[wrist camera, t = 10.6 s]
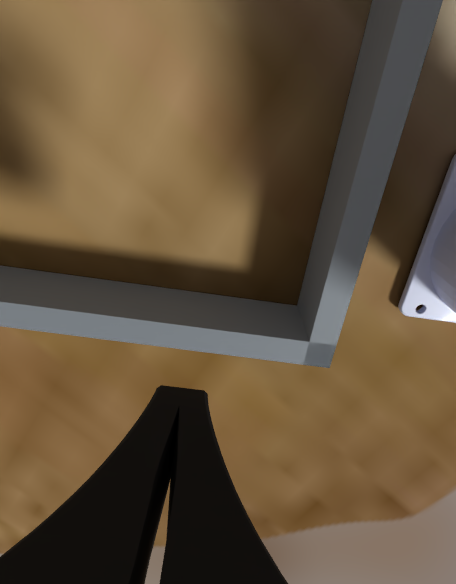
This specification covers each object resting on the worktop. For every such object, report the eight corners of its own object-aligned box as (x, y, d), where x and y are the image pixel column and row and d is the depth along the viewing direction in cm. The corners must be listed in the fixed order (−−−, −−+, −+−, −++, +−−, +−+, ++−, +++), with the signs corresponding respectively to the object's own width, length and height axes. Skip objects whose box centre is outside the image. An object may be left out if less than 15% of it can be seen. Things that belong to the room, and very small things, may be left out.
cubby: (515, -404, 11) (633, -617, 8) (314, 328, 21) (329, 367, 18) (-260, -591, 10) (-496, -929, 7) (-83, 276, 20) (-144, 307, 16)
